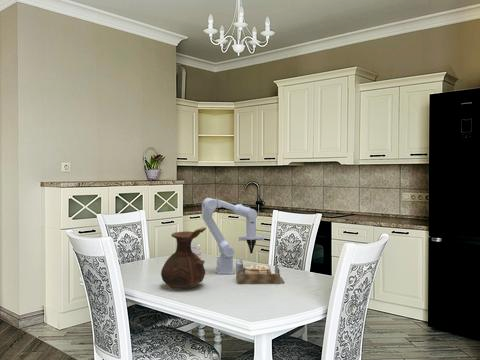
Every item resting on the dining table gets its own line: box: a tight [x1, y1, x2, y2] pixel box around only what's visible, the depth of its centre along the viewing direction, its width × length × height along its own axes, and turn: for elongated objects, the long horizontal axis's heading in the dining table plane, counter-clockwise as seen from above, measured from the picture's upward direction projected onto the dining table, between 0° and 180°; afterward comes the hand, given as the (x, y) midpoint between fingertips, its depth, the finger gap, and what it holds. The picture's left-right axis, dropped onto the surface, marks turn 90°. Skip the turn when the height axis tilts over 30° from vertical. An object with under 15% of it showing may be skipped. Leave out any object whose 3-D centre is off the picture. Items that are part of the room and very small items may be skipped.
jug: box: [160, 227, 207, 290], centre depth 224 cm, size 22×22×30 cm
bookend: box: [274, 264, 286, 284], centre depth 238 cm, size 4×12×7 cm, turn 3°
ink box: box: [191, 240, 202, 260], centre depth 280 cm, size 9×5×15 cm, turn 71°
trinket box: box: [243, 263, 272, 274], centre depth 240 cm, size 13×15×8 cm
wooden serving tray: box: [235, 259, 281, 285], centre depth 237 cm, size 22×13×10 cm, turn 93°
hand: (251, 253), depth 260 cm, fingers closed
